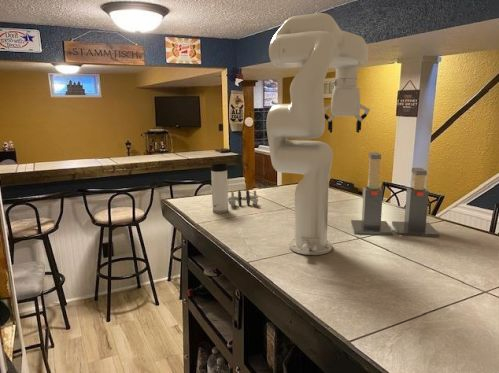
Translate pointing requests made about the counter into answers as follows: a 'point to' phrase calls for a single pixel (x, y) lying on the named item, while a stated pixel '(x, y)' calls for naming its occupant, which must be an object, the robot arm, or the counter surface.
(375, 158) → the column
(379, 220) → the sleeve
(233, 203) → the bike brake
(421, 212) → the sleeve
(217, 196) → the travel mug
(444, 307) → the counter surface
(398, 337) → the counter surface
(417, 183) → the column
